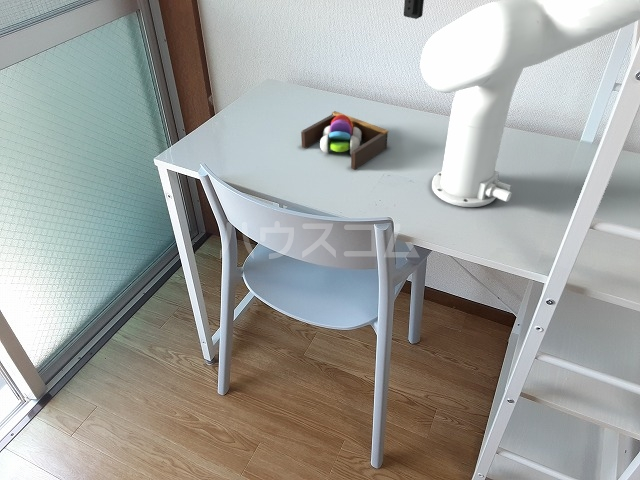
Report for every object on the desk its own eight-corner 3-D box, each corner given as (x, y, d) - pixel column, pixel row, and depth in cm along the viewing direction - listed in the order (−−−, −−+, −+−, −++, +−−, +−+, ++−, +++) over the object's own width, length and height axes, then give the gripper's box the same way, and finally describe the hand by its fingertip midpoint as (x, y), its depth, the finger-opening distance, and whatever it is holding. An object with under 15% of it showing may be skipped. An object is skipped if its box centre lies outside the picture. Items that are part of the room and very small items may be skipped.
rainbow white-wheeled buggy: (362, 138, 118) (363, 109, 113) (357, 160, 110) (358, 129, 106) (325, 136, 119) (325, 107, 114) (318, 158, 112) (317, 127, 107)
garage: (387, 148, 114) (388, 130, 111) (354, 170, 108) (355, 151, 105) (335, 128, 122) (335, 110, 119) (301, 147, 115) (300, 129, 112)
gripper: (417, -90, 81) (407, 30, 93) (464, -101, 90) (449, 10, 101) (378, -94, 85) (373, 22, 96) (427, -104, 93) (417, 4, 105)
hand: (412, 16), depth 99 cm, fingers closed
